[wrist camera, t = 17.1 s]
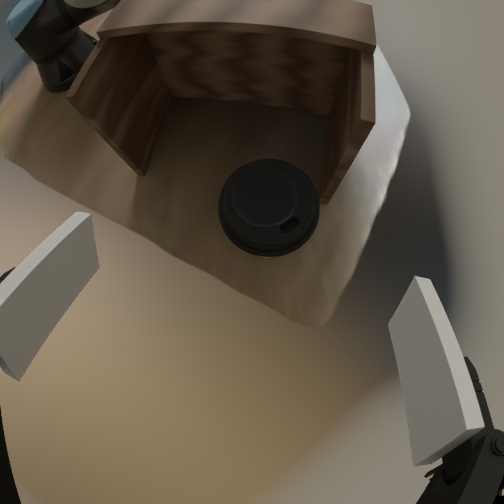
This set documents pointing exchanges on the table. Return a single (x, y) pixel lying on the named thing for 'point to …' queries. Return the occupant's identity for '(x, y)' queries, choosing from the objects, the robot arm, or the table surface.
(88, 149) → the table surface
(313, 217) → the coffee cup
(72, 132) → the table surface
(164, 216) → the table surface
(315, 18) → the walnut box
